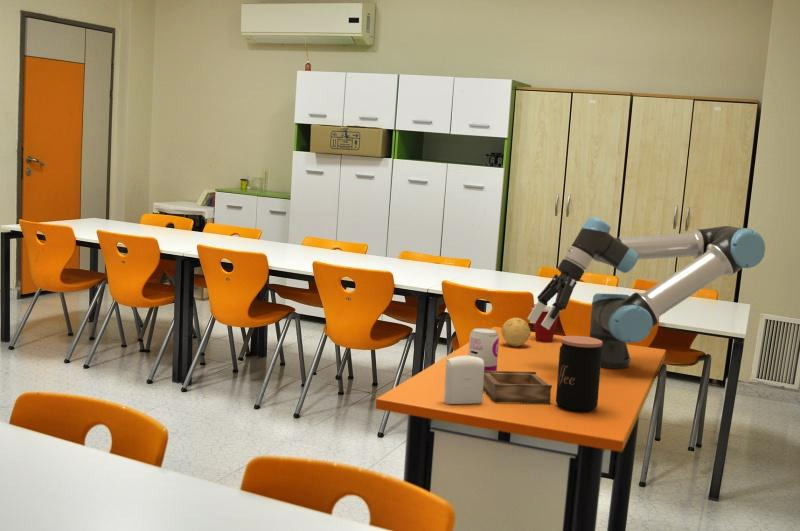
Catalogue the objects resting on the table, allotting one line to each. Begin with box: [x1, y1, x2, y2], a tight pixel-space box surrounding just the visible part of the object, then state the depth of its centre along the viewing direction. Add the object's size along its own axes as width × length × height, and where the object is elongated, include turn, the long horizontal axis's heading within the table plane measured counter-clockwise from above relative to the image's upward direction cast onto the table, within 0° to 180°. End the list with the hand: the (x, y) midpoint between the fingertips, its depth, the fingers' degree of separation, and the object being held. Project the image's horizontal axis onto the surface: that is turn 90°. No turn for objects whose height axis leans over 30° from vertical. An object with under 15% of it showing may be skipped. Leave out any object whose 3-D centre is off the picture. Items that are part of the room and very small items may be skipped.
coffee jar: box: [555, 335, 603, 414], centre depth 224 cm, size 11×11×18 cm
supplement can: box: [468, 327, 500, 371], centre depth 246 cm, size 8×8×15 cm
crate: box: [483, 370, 553, 405], centre depth 233 cm, size 15×15×5 cm
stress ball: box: [501, 317, 531, 348], centre depth 301 cm, size 10×10×10 cm
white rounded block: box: [443, 355, 484, 405], centre depth 223 cm, size 10×4×12 cm, turn 105°
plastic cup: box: [530, 307, 562, 343], centre depth 313 cm, size 11×11×12 cm
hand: (537, 324), depth 261 cm, fingers open, 13 cm apart
